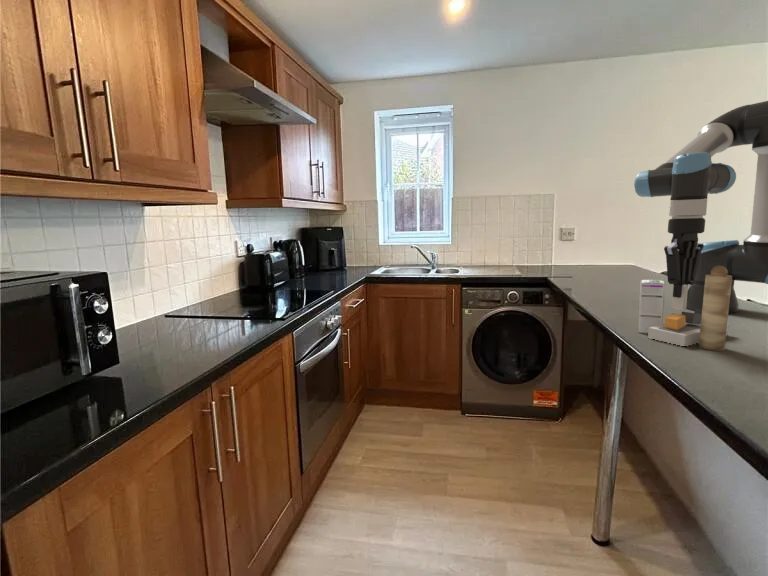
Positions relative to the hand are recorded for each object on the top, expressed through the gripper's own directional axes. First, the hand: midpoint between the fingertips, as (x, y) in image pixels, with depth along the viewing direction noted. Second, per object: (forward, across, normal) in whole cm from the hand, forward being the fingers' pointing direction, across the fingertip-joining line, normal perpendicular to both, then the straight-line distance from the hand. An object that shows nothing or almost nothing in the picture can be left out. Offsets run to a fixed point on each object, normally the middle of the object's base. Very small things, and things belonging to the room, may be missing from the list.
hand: (678, 309), depth 108 cm
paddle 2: (+5, -11, 0) cm, 12 cm away
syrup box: (+9, -2, -8) cm, 12 cm away
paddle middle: (+5, -5, 0) cm, 7 cm away
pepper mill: (+8, 0, +8) cm, 12 cm away
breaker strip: (+8, -5, 0) cm, 10 cm away
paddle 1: (+5, +1, 0) cm, 5 cm away
